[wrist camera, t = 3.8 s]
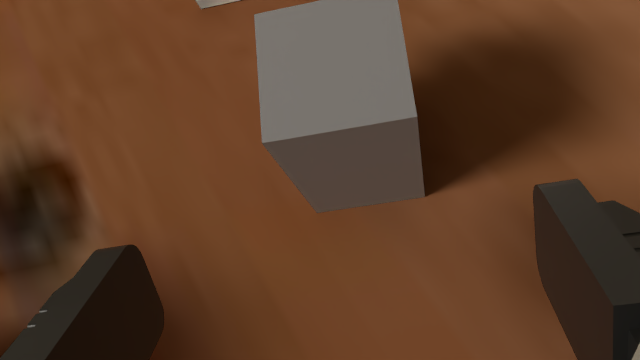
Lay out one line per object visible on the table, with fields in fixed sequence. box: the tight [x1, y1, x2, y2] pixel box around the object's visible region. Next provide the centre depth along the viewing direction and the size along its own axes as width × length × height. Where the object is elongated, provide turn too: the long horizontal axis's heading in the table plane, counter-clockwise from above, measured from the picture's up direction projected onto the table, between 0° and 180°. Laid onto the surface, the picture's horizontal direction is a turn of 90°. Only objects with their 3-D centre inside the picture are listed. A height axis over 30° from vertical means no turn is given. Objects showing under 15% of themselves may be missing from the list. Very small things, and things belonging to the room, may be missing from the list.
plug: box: [254, 0, 425, 213], centre depth 20 cm, size 4×6×8 cm
